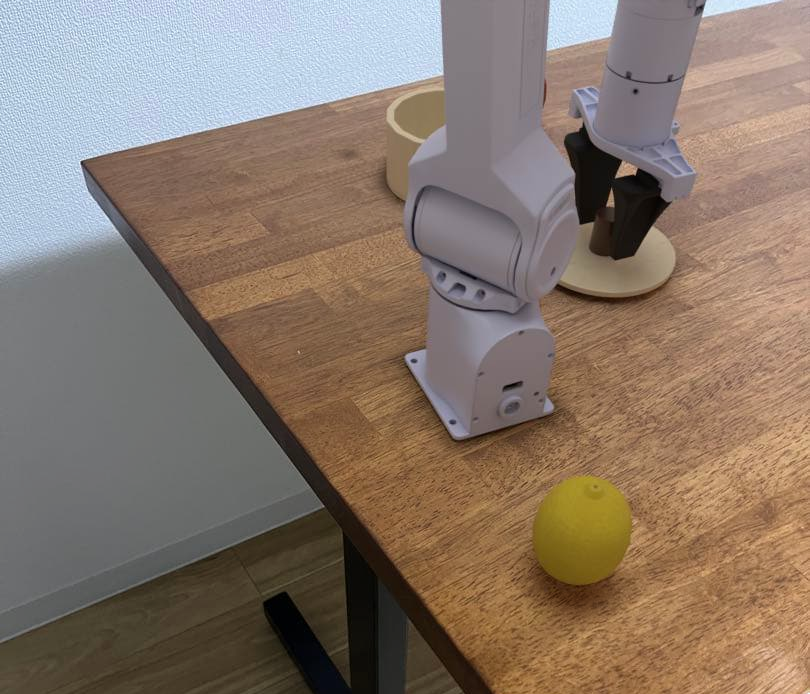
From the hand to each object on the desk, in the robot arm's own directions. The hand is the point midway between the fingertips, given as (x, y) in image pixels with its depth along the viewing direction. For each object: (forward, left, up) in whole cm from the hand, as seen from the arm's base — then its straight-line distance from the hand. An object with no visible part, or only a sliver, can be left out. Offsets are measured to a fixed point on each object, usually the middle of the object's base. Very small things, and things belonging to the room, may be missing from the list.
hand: (604, 238), depth 68 cm
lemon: (-28, +19, -2) cm, 34 cm away
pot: (+17, +7, -2) cm, 19 cm away
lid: (0, 0, -2) cm, 2 cm away
